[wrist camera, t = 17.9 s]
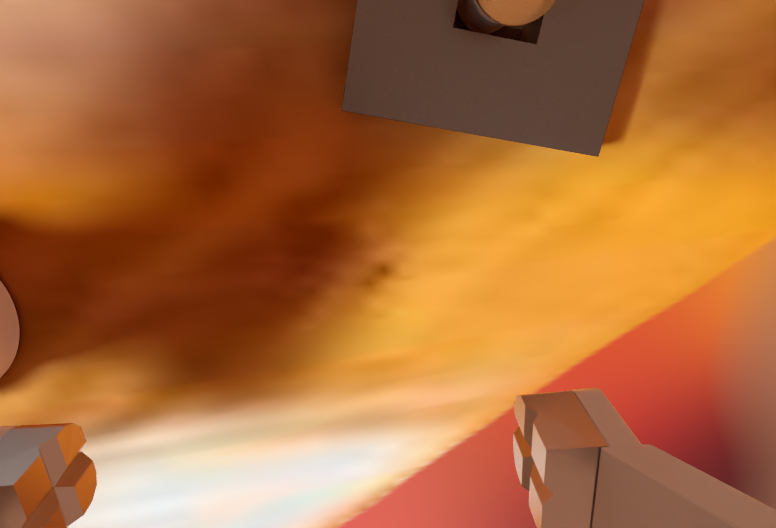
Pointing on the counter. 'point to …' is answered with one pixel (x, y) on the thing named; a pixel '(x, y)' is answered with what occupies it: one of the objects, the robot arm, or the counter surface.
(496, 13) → the bushing
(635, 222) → the counter surface
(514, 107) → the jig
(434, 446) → the counter surface
